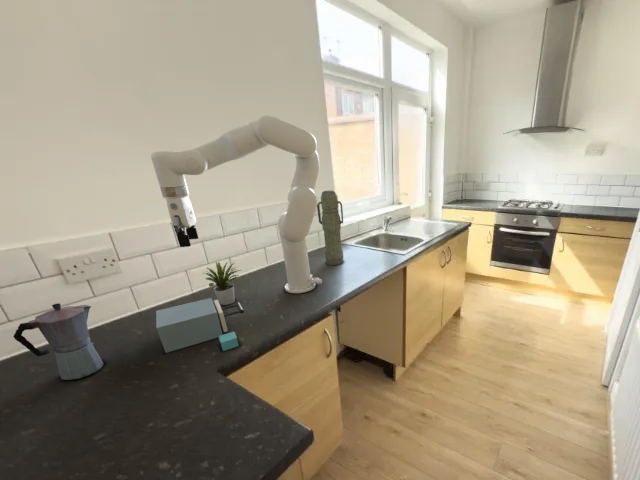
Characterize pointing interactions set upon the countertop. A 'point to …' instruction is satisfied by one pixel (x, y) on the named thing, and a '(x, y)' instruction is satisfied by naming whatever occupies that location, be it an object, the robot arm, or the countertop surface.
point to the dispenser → (187, 324)
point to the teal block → (228, 341)
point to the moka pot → (65, 340)
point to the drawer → (221, 315)
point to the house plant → (223, 283)
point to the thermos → (331, 227)
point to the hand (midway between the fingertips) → (189, 242)
